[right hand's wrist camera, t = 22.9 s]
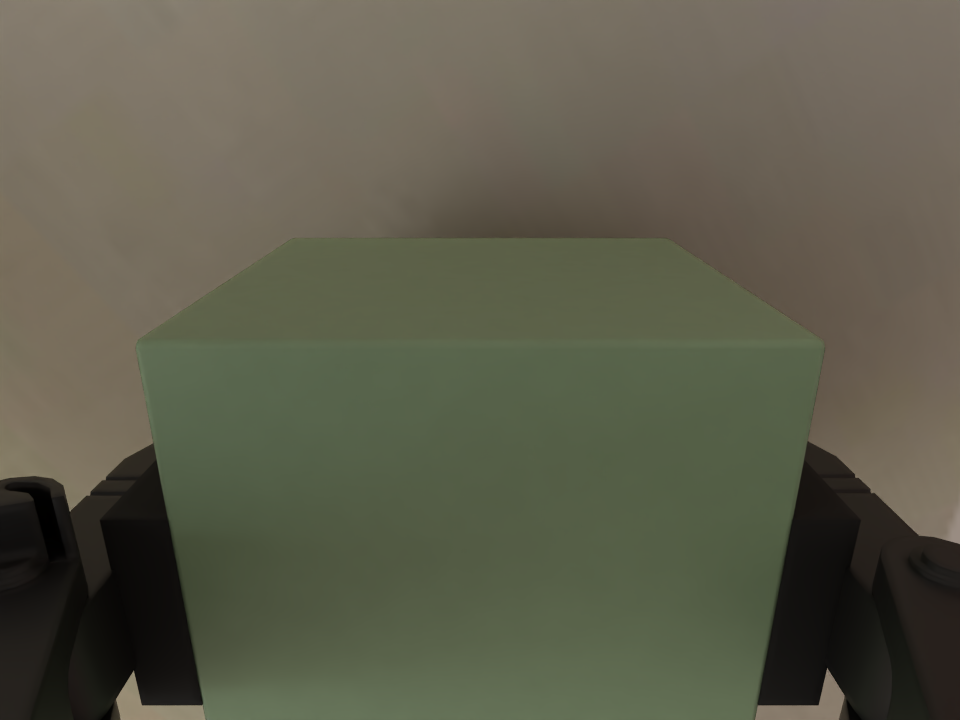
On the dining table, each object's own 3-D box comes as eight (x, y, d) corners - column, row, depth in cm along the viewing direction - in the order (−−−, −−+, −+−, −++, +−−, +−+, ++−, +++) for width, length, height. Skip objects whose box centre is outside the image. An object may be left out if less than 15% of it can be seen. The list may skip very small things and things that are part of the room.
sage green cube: (321, 555, 15) (222, 828, 9) (290, 237, 12) (130, 340, 7) (639, 555, 15) (737, 828, 9) (669, 236, 12) (830, 339, 7)
